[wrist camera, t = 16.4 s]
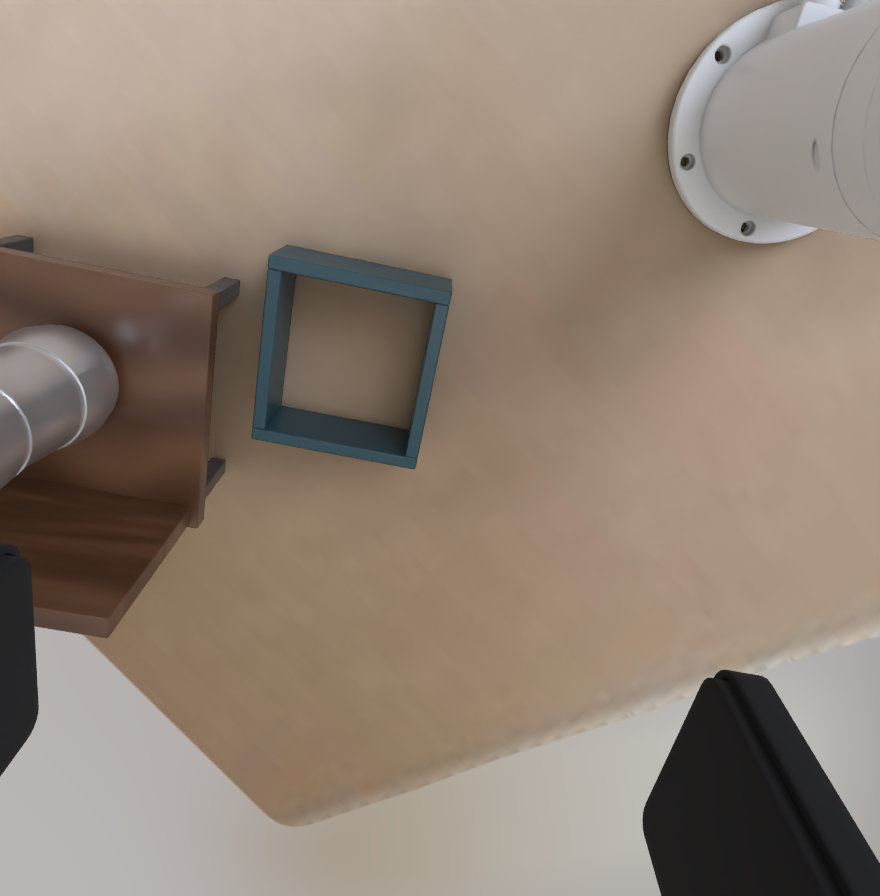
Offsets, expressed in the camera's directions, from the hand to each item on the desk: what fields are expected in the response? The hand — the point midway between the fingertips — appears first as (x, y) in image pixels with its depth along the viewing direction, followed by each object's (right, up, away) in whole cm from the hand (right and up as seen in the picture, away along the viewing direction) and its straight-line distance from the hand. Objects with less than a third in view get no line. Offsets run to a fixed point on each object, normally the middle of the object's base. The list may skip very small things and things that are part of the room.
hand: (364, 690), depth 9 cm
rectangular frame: (-5, +10, +35) cm, 37 cm away
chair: (-20, +9, +36) cm, 42 cm away
